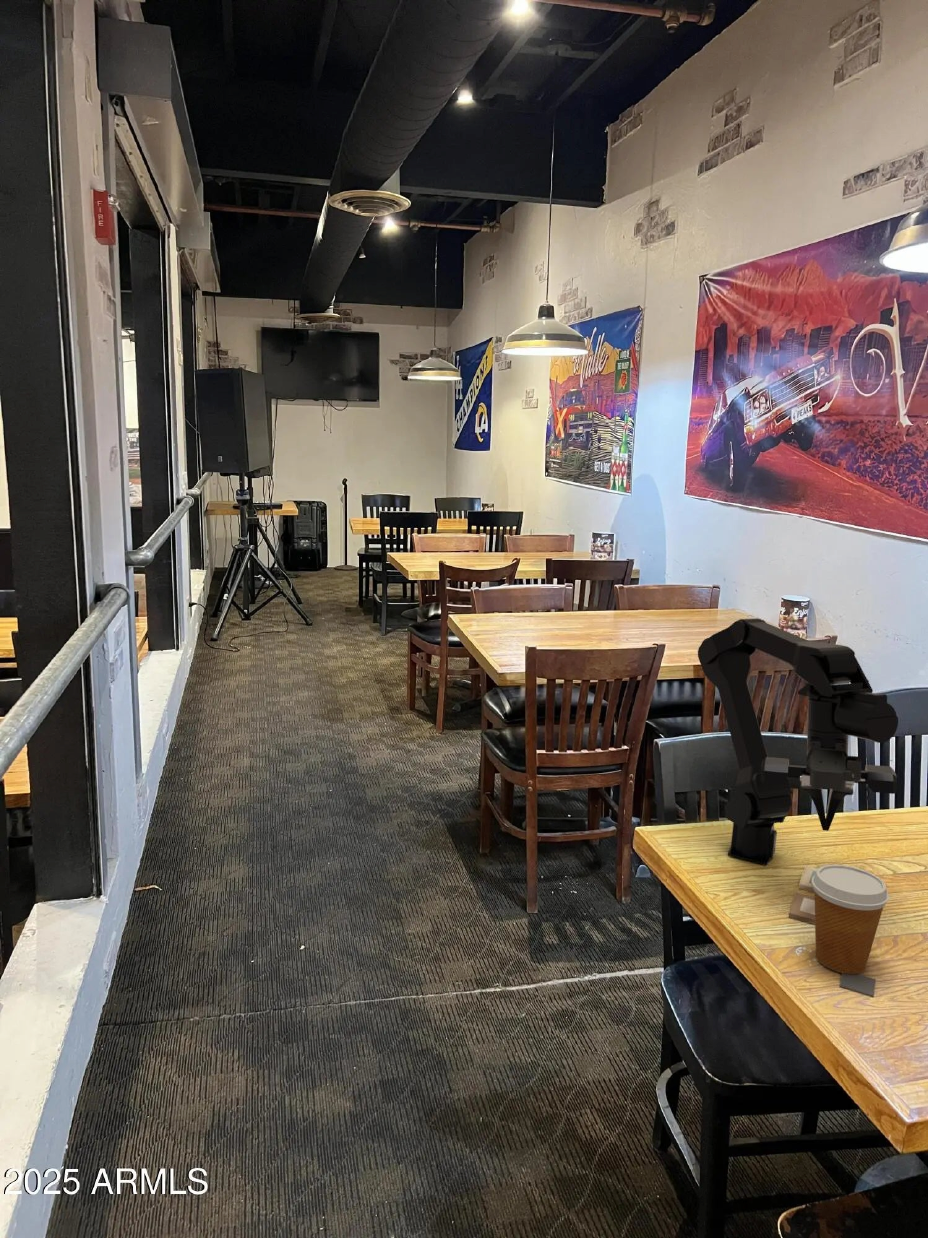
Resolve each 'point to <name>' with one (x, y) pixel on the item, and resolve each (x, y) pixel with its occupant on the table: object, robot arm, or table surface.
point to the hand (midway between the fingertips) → (825, 830)
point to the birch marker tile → (807, 879)
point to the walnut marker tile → (803, 908)
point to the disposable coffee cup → (846, 916)
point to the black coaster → (858, 983)
